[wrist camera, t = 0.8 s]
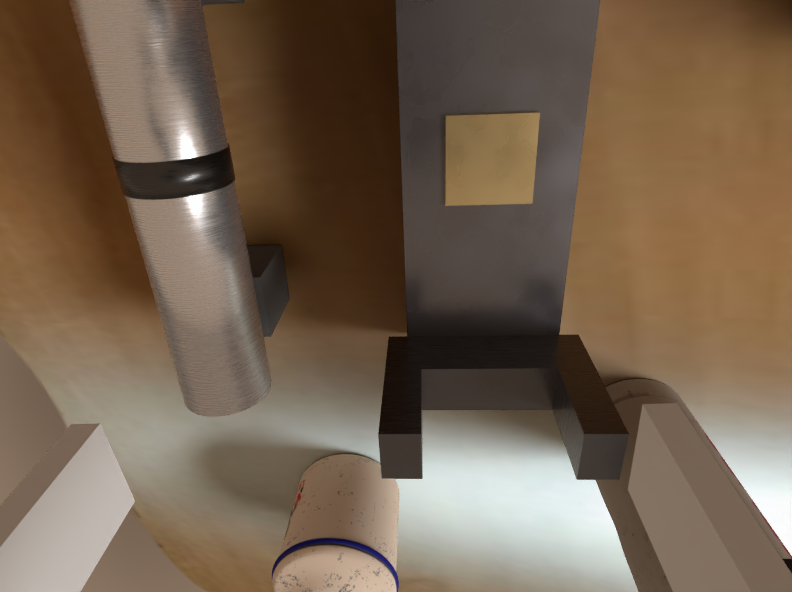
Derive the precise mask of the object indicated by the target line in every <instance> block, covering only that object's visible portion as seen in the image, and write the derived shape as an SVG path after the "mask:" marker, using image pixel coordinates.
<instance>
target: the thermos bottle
mask: <svg viewBox="0 0 792 592" xmlns="http://www.w3.org/2000/svg"><path fill="white" fill-rule="evenodd" d="M605 388H606V390H607V392H608V394H609V395H610V397H611V399H612V401H613V403H614V405H615V407H616V409H617V411H618V413H619V415H620V417H621V419H622V421H623V423H624V425H625V427H626V429H627V431H628V433H629V437H628V442H627V447H626V451H625V456H624V460H623V465H622V470H621V474H620V479H619V480H596V482H597V484H598V487H599V490H600V492H601V495H602V497H603V499H604V502H605V504H606V507H607V509H608V511H609V513H610V515H611V518H612V520H613V522H614V525H615V527H616V530H617V533H618V536H619V539H620V542H621V545H622V549H623V551H624V554H625V557H626V560H627V562H628V565H629V568H630V570H631V573H632V575H633V578H634V581H635V583H636V586H637V588H638V591H639V592H673V591H672V588H671V586H670V584H669V582H668V579H667V577H666V575H665V573H664V570H663V568H662V566H661V564H660V561H659V559H658V557H657V555H656V552H655V550H654V548H653V545H652V543H651V541H650V539H649V536H648V534H647V532H646V530H645V527H644V525H643V523H642V521H641V518H640V516H639V514H638V512H637V509H636V507H635V505H634V502H633V500H632V498H631V496H630V493H629V491H628V485H629V480H630V474H631V468H632V462H633V456H634V451H635V445H636V439H637V433H638V427H639V422H640V416H641V410H642V404H663V403H677V404H678V405H679V407H680V408H681V410H682V411H683V413H684V414H685V416H686V417H687V418H688V420H689V421H690V423H691V424H692V426H693V427H694V429H695V430H696V432H697V433H698V435H699V436H700V438H701V439H702V441H703V442H704V444H705V445H706V447H707V448H708V450H709V451H710V453H711V454H712V456H713V457H714V459H715V460H716V462H717V463H718V465H719V466H720V468H721V469H722V470H723V472H724V473H725V475H726V476H727V478H728V479H729V481H730V482H731V484H732V485H733V487H734V488H735V490H736V491H737V493H738V494H739V496H740V497H741V499H742V500H743V502H744V503H745V505H746V506H747V508H748V509H749V511H750V512H751V514H752V515H753V517H754V518H755V520H756V521H757V522H758V524H759V525H760V527H761V528H762V530H763V531H764V533H765V534H766V536H767V537H768V539H769V540H770V542H771V543H772V545H773V546H774V548H775V549H776V551H777V552H778V554H779V555H780V557H781V558H782V559H792V556H791V555H790V553H789V552H788V550H787V549H786V548H785V546H784V545H783V543H782V542H781V540H780V539H779V538H778V536H777V535H776V533H775V532H774V530H773V529H772V528H771V526H770V525H769V523H768V522H767V520H766V519H765V518H764V516H763V515H762V513H761V512H760V510H759V509H758V508H757V506H756V505H755V503H754V502H753V500H752V499H751V498H750V496H749V495H748V493H747V492H746V490H745V489H744V488H743V486H742V485H741V483H740V482H739V480H738V479H737V478H736V476H735V475H734V473H733V472H732V470H731V469H730V468H729V466H728V465H727V463H726V462H725V460H724V459H723V458H722V456H721V455H720V453H719V452H718V450H717V449H716V448H715V446H714V445H713V443H712V442H711V440H710V439H709V438H708V436H707V435H706V433H705V432H704V430H703V429H702V428H701V426H700V425H699V423H698V422H697V420H696V419H695V418H694V416H693V415H692V413H691V412H690V410H689V409H688V408H687V406H686V405H685V403H684V402H683V400H682V399H681V398H680V396H679V395H678V394H677V393H676V392H675V391H674V390H673V389H672V388H670V387H669V386H667V385H665V384H663V383H660V382H657V381H654V380H648V379H630V380H624V381H620V382H617V383H614V384H611V385H609V386H607V387H605Z"/></svg>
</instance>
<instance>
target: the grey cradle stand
mask: <svg viewBox="0 0 792 592" xmlns="http://www.w3.org/2000/svg"><path fill="white" fill-rule="evenodd" d="M395 2H396V30H397V58H398V86H399V114H400V142H401V170H402V198H403V227H404V255H405V283H406V311H407V337H389V340H388V349H387V358H386V368H385V377H384V387H383V396H382V405H381V415H380V424H379V434H378V435H379V449H380V462H381V476H382V479H422V410H553V412H554V415H555V417H556V420H557V423H558V426H559V429H560V432H561V435H562V438H563V441H564V444H565V447H566V450H567V452H568V455H569V458H570V461H571V464H572V467H573V470H574V473H575V476H576V479H578V480H619V479H620V474H621V470H622V465H623V460H624V456H625V451H626V447H627V442H628V437H629V433H628V431H627V429H626V427H625V425H624V423H623V421H622V419H621V417H620V415H619V413H618V411H617V409H616V407H615V405H614V403H613V401H612V399H611V397H610V395H609V394H608V392H607V390H606V388H605V386H604V384H603V382H602V380H601V378H600V376H599V374H598V372H597V370H596V368H595V366H594V364H593V362H592V360H591V358H590V356H589V354H588V352H587V350H586V349H585V347H584V345H583V343H582V341H581V339H580V337H579V335H559V332H560V324H561V315H562V307H563V299H564V291H565V283H566V274H567V266H568V258H569V250H570V242H571V234H572V225H573V217H574V209H575V201H576V193H577V185H578V176H579V168H580V160H581V152H582V144H583V136H584V127H585V119H586V111H587V103H588V95H589V87H590V78H591V70H592V62H593V54H594V46H595V38H596V29H597V21H598V13H599V5H600V0H395Z"/></svg>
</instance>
